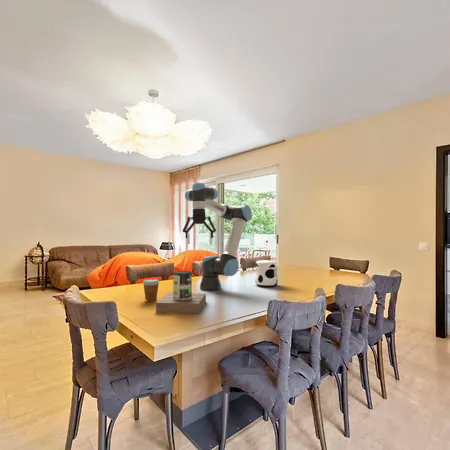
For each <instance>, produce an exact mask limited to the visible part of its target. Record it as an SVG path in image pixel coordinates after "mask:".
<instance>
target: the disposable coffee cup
mask: <svg viewBox="0 0 450 450" xmlns="http://www.w3.org/2000/svg"><path fill="white" fill-rule="evenodd" d="M142 284H143V291H144V298H145V299H144V300H145V301H146V300H147V301H154V300H156V301H158V292H159V291H158V289H159V284H160V280H159V279H158V278H149V279H144V280H143V282H142ZM147 301H146V302H147ZM154 302H155V301H154Z"/></svg>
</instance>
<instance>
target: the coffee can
mask: <svg viewBox="0 0 450 450" xmlns="http://www.w3.org/2000/svg"><path fill="white" fill-rule="evenodd" d="M192 275H193V271H191V270H176V271H173V272H172V289H173V290H172V293H173V299H176V300H187V299H191V298H192V293H193V292H192V286H193V284H192V282H193V281H192V280H193V279H192V278H193V276H192Z"/></svg>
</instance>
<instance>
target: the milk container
mask: <svg viewBox="0 0 450 450" xmlns="http://www.w3.org/2000/svg"><path fill="white" fill-rule="evenodd" d="M278 276H279V275H278V263H277V261H276V260H268V259H267V260H266V259H265V260H264V259H263V260H256V261H255V275H254V283H255V284H256V285H257V286H259V287H265V288H266V287H275V286H277V285H278V283H279V277H278Z"/></svg>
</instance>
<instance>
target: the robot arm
mask: <svg viewBox="0 0 450 450" xmlns="http://www.w3.org/2000/svg"><path fill="white" fill-rule="evenodd" d="M218 196H219V192H218V190H217V188H213V187H206V184H205V183H204V182H193V183H192V188H191V189H187V190H186V191H185V192H184V198H185V200H186V201H188V202H192V216H187V219H186V222H185V224H184V227H183V228H182V233H185V239H186V241H187V242H186V243H187V245H189V244H190V243H191V241H190V231H191V229H193V227H194V226H195V225H202V224H203V225H204V226H205V228H206V229H207V230H208V231H209V244H210V245H212V244H213V238H214V233H215V232H217V229H216V227H215V225H214V224H213V221H212V217H211V216H206V209H208V210H209V211H211V212H213V213H215V214H216V216H218V217H219V218H222V219H224V220H227V221H230V222H231V223H232V224H231V226H230V230H229V234H228V237H227V241H226V243H225V244H226V245H225V248H224V251H223V253H221V254H220V256H219V255H210V256H204V257H202V260H201V264H202V266H201V267H202V268H201V269H202V270H201V271H202V275H201V276H202V278H201V280H200V284H199V290H201V291H209V292H211V291H214V292H215V291H220V290H221V289H222V285H221V280H220V277H219V276H226V277H234V276H235V275H236V274H237V273H238V271H239V268H240V267H239V266H240V263H239V260H238V257H237V252H238V248H239V244H240V241H241V238H242V234H243V231H244V227H245V226H246V225H247V224H248V222H249V221H251V220H252V217H253V212H252V209H251V207H250V206H249V205H248V204H239V205H237V204H236V205H227V204H224V203H220V202H218V201H217V200H216V199H217V198H218ZM191 221H192V222H191ZM206 221H208V222H209V224H210V225H208V224H207V222H206ZM190 222H191V224H190ZM189 224H190V225H189Z"/></svg>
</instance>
